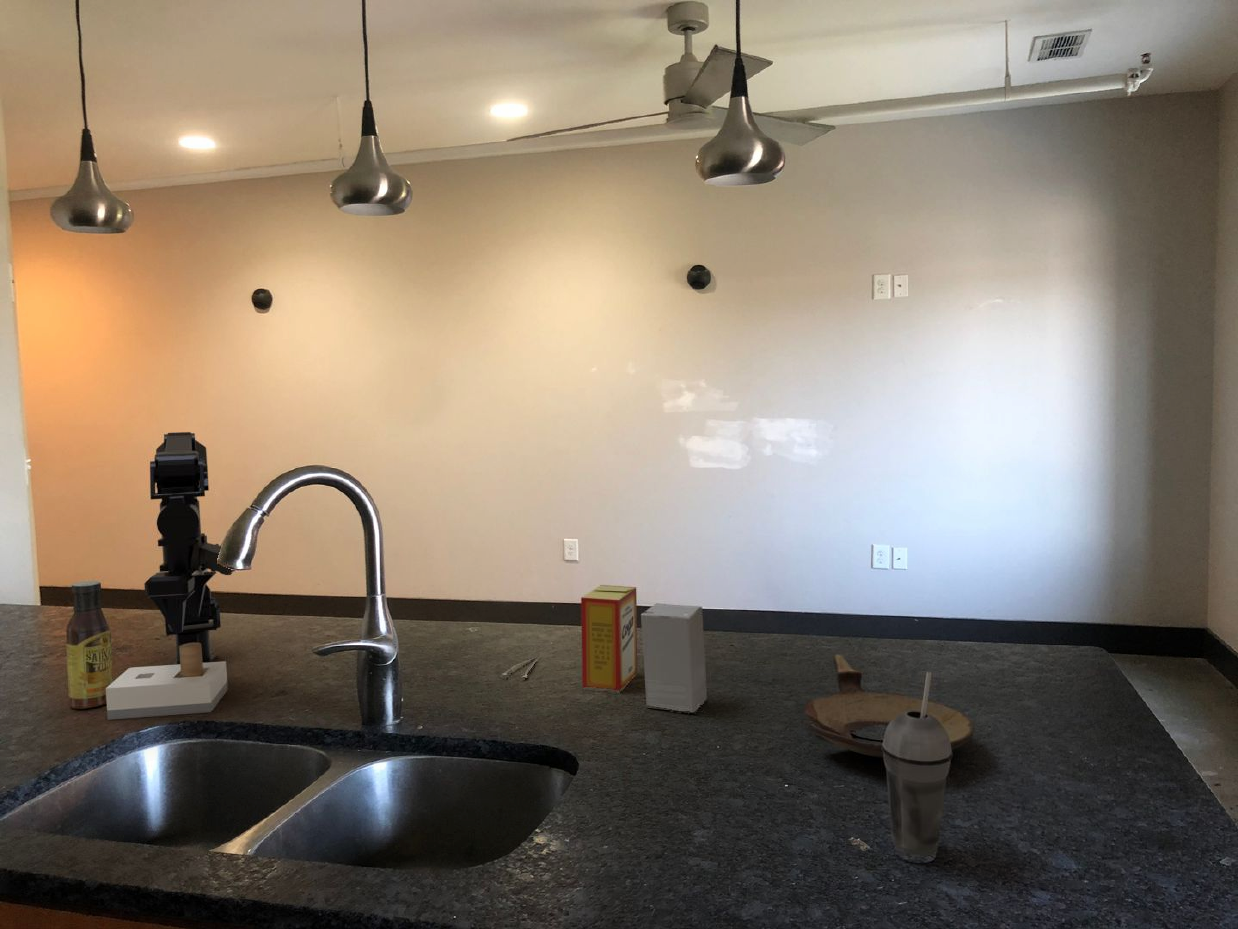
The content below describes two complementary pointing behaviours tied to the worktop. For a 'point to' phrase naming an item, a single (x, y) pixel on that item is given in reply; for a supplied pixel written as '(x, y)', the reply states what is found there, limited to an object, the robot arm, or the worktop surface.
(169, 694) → the hole block
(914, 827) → the beverage cup
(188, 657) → the oak peg
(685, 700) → the skincare box
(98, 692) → the sauce bottle
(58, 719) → the worktop surface
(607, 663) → the baking soda box
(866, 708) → the oil lamp
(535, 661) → the tweezers
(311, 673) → the worktop surface
